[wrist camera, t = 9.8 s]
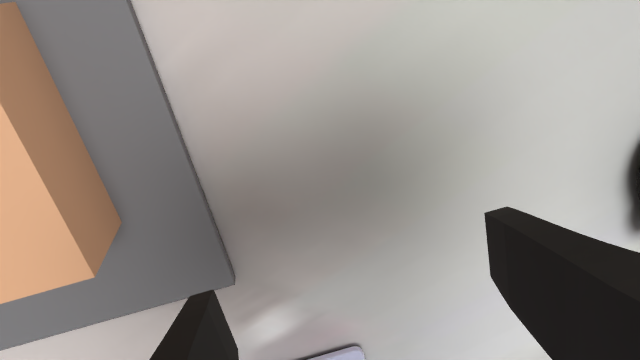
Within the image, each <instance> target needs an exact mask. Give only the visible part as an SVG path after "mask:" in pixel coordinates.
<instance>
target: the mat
mask: <svg viewBox="0 0 640 360" xmlns="http://www.w3.org/2000/svg"><path fill="white" fill-rule="evenodd" d="M10 2H16V4H17V6H18V8H19V10H20V13H21V15H22V17H23V19H24V21H25V23H26V25H27V27H28V29H29V31H30V33H31V35H32V37H33V39H34V42H35V44H36V46H37V48H38V50H39V52H40V54H41V56H42V58H43V60H44V62H45V64H46V66H47V68H48V70H49V73H50V75H51V77H52V79H53V81H54V83H55V85H56V87H57V89H58V91H59V93H60V95H61V97H62V99H63V102H64V104H65V106H66V108H67V110H68V112H69V114H70V116H71V118H72V120H73V122H74V124H75V126H76V128H77V131H78V133H79V135H80V137H81V139H82V141H83V143H84V145H85V147H86V149H87V151H88V153H89V155H90V157H91V159H92V162H93V164H94V166H95V168H96V170H97V172H98V174H99V176H100V178H101V180H102V182H103V184H104V186H105V188H106V191H107V193H108V195H109V197H110V199H111V201H112V203H113V205H114V207H115V209H116V211H117V213H118V215H119V217H120V219H121V222H122V223H121V225H120V227H119V229H118V231H117V233H116V235H115V237H114V239H113V241H112V243H111V245H110V247H109V249H108V251H107V253H106V256H105V258H104V260H103V262H102V264H101V266H100V268H99V270H98V272H97V274H96V276H95V277H94V278H91V279H87V280H83V281H80V282H76V283H73V284H69V285H66V286H62V287H59V288H55V289H52V290H48V291H45V292H41V293H38V294H34V295H30V296H27V297H23V298H20V299H16V300H13V301H9V302H6V303H2V304H0V351H1V350H4V349H8V348H11V347H15V346H19V345H22V344H26V343H29V342H33V341H36V340H40V339H43V338H47V337H50V336H54V335H58V334H61V333H65V332H68V331H72V330H75V329H79V328H82V327H86V326H90V325H93V324H97V323H100V322H104V321H107V320H111V319H114V318H118V317H121V316H125V315H129V314H132V313H136V312H139V311H143V310H146V309H150V308H153V307H157V306H160V305H164V304H168V303H171V302H175V301H178V300H182V299H185V298H189V297H190V296H191V295H195V294H198V293H202V292H206V291H209V290H213V289H214V290H217V289H221V288H224V287H228V286H231V285H235V275H234V273H233V270H232V267H231V265H230V262H229V259H228V257H227V254H226V252H225V249H224V246H223V244H222V241H221V238H220V236H219V233H218V230H217V228H216V225H215V223H214V220H213V217H212V215H211V212H210V209H209V207H208V204H207V201H206V199H205V196H204V194H203V191H202V188H201V186H200V183H199V180H198V178H197V175H196V172H195V170H194V167H193V165H192V162H191V159H190V157H189V154H188V151H187V149H186V146H185V143H184V141H183V138H182V136H181V133H180V130H179V128H178V125H177V122H176V120H175V117H174V115H173V112H172V109H171V107H170V104H169V101H168V99H167V96H166V93H165V91H164V88H163V86H162V83H161V80H160V78H159V75H158V72H157V70H156V67H155V64H154V62H153V59H152V57H151V54H150V51H149V49H148V46H147V43H146V41H145V38H144V35H143V33H142V30H141V28H140V25H139V22H138V20H137V17H136V14H135V12H134V9H133V6H132V4H131V1H130V0H0V4H2V3H10Z"/></svg>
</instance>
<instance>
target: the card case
mask: <svg viewBox="0 0 640 360" xmlns="http://www.w3.org/2000/svg"><path fill="white" fill-rule="evenodd" d="M121 223H122V222H121V219H120V217H119V215H118V213H117V211H116V209H115V207H114V205H113V203H112V201H111V199H110V197H109V195H108V193H107V191H106V188H105V186H104V184H103V182H102V180H101V178H100V176H99V174H98V172H97V170H96V168H95V166H94V164H93V162H92V159H91V157H90V155H89V153H88V151H87V149H86V147H85V145H84V143H83V141H82V139H81V137H80V135H79V133H78V131H77V128H76V126H75V124H74V122H73V120H72V118H71V116H70V114H69V112H68V110H67V108H66V106H65V104H64V102H63V99H62V97H61V95H60V93H59V91H58V89H57V87H56V85H55V83H54V81H53V79H52V77H51V75H50V73H49V70H48V68H47V66H46V64H45V62H44V60H43V58H42V56H41V54H40V52H39V50H38V48H37V46H36V44H35V42H34V39H33V37H32V35H31V33H30V31H29V29H28V27H27V25H26V23H25V21H24V19H23V17H22V15H21V13H20V10H19V8H18V6H17V4H16V2H10V3H2V4H0V304H2V303H6V302H9V301H13V300H16V299H20V298H23V297H27V296H30V295H34V294H38V293H41V292H45V291H48V290H52V289H55V288H59V287H62V286H66V285H69V284H73V283H76V282H80V281H83V280H87V279H91V278H94V277H95V276H96V274H97V272H98V270H99V268H100V266H101V264H102V262H103V260H104V258H105V256H106V253H107V251H108V249H109V247H110V245H111V243H112V241H113V239H114V237H115V235H116V233H117V231H118V229H119V227H120V225H121Z"/></svg>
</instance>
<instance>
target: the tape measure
mask: <svg viewBox="0 0 640 360" xmlns="http://www.w3.org/2000/svg"><path fill="white" fill-rule="evenodd" d="M637 190H638V192H639V195H638V196H639V199H640V168H639V170H638V173H637Z"/></svg>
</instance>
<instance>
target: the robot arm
mask: <svg viewBox="0 0 640 360" xmlns="http://www.w3.org/2000/svg"><path fill="white" fill-rule="evenodd" d="M485 223H486V233H487V244H488V254H489V265H490V275H491V278H492V279H493V281H494V283H495V284H496V286H497V288H498V289H499V291H500V293H501V294H502V296H503V298H504V299H505V301H506V302H507V304H508V305H509V307H510V308H511V310H512V311H513V312H514V314H515V315H516V316H517V317H518V319H519V320H520V321H521V322H522V323H523V325H524V326H525V327H526V328H527V330H528V331H529V332H530V333H531V335H532V336H533V337H534V338H535V339H536V341H537V342H538V343H539V344H540V345H541V347H542V348H543V349H544V350H545V352H546V353H547V354H548V355H549V356H550V358H551V359H552V360H640V253H638V252H635V251H631V250H628V249H625V248H621V247H618V246H615V245H612V244H609V243H606V242H602V241H599V240H597V239H594V238H591V237H588V236H585V235H582V234H579V233H577V232H574V231H571V230H569V229H566V228H563V227H561V226H558V225H555V224H553V223H550V222H548V221H545V220H542V219H540V218H537V217H535V216H532V215H530V214H527V213H524V212H522V211H519V210H516V209H513V208H510V207H504V208H500V209H497V210H493V211H490V212H486V213H485ZM149 360H239V357H238V348H237V345H236V343H235V341H234V338H233V336H232V333H231V331H230V328H229V326H228V323H227V321H226V319H225V316H224V314H223V311H222V309H221V306H220V304H219V301H218V299H217V297H216V294H215V292H214V289H213V290H209V291H206V292H202V293H198V294H195V295H191V296H190V297H189V298H188V300H187V301H186V303H185V305H184V306H183V308H182V309H181V311H180V313H179V314H178V316H177V317H176V319H175V321H174V322H173V324H172V325H171V327H170V329H169V330H168V332H167V334H166V335H165V337H164V338H163V340H162V341H161V343H160V344H159V346H158V347H157V349H156V351H155V352H154V354H153V355H152V357H151V358H150V359H149ZM308 360H365V357H364V353H363V350H362V349H361V348H360V347H357V346H354V347H349V348H346V349H342V350H339V351H335V352H332V353H328V354H325V355H322V356H318V357H315V358H311V359H308Z"/></svg>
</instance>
